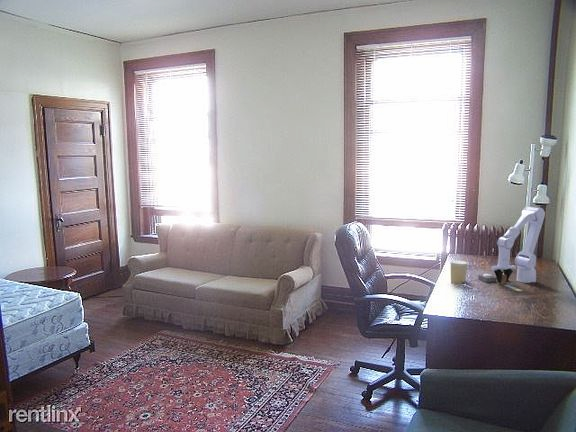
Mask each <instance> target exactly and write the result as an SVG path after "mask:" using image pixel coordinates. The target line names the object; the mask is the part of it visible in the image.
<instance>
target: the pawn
mask: <svg viewBox="0 0 576 432" xmlns="http://www.w3.org/2000/svg"><path fill="white" fill-rule="evenodd" d="M506 278H507V275H505V274H502V279H501V283H498V284H499V285H501V284H502V285H501V286H504V285H507V282H506Z"/></svg>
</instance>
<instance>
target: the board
mask: <svg viewBox="0 0 576 432" xmlns="http://www.w3.org/2000/svg"><path fill="white" fill-rule="evenodd" d="M477 278H478V280H479V281H482V282H484V283H496V282H497V278H496V275H495V276H494V275H492V277H489V278H486V277H484V276H483V274H478V277H477ZM500 285H501V286H504V287H506V288H510V289H512V290H514V291H515V292H516V291H517V292H522V291H523V289H520V288H517V287H515V286H512V285H510V284H505V285H502V284H500Z"/></svg>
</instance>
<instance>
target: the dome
mask: <svg viewBox="0 0 576 432" xmlns="http://www.w3.org/2000/svg"><path fill="white" fill-rule="evenodd" d="M482 275H483V276H484V277H486V278H489V277H492V276H493V275H492V274H490V273H483V274H482Z"/></svg>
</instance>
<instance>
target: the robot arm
mask: <svg viewBox="0 0 576 432" xmlns="http://www.w3.org/2000/svg"><path fill="white" fill-rule="evenodd" d="M545 216H546V212H545V210H544V208H542V207H533V206H528V205H527V206H525V207H524V208H523V210H521V215H520V217H519V219H518V220H517V222H516V223H515V224H514V226H510V227H509V228H508V229H507V231H506V232H505V233H504V234H503V236H500V237H499V238H498V239H497V241H496V245H497V248H498V260H497V261H498V262H497V265H493V266H491V267H490V270H491V271H493V272H494V275H495V277H496V278H497V280H496V282H497V284H499V283H501V279H502V274H503V272H504V274H505V275H507V278H506V283H508V282H509V279H510V277H511V275H512V274H513V272H514V270H516V268H517V272H516V281H517V282H520V283H524V284H527V283H529V284H530V283H536V282H537V271H536V268H535V267H536V265H537V262H536V261H537V256H536V254H534V252H535V249H536V245H537V242H538V239H539V236H540V232H541V230H542V227H543V226H542V225H543V223H544V219H545ZM527 223H530V227H529V229H528V233H527V236H526V238H525V242H524V245H523V248H522V250H520V251H519V252H518V253H517V255H516V257H515V258H514V264H515V265H513V264H512V265H511V261H510V259H511V249H512V247H513V246H514V243H515V240H516V239H517V238H518V236H519V235H520V233H521V229H522V228H524V226H526V224H527Z"/></svg>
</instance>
